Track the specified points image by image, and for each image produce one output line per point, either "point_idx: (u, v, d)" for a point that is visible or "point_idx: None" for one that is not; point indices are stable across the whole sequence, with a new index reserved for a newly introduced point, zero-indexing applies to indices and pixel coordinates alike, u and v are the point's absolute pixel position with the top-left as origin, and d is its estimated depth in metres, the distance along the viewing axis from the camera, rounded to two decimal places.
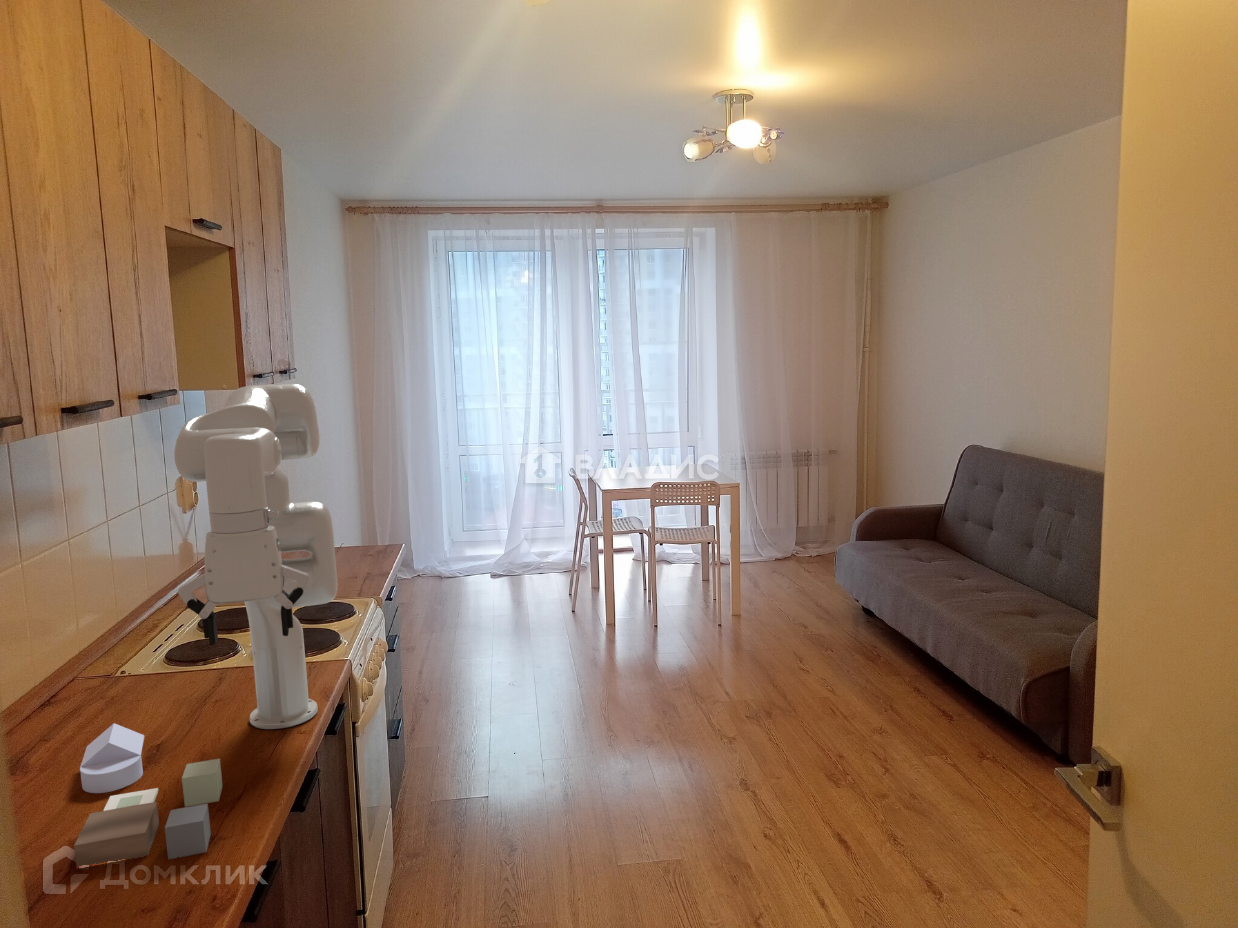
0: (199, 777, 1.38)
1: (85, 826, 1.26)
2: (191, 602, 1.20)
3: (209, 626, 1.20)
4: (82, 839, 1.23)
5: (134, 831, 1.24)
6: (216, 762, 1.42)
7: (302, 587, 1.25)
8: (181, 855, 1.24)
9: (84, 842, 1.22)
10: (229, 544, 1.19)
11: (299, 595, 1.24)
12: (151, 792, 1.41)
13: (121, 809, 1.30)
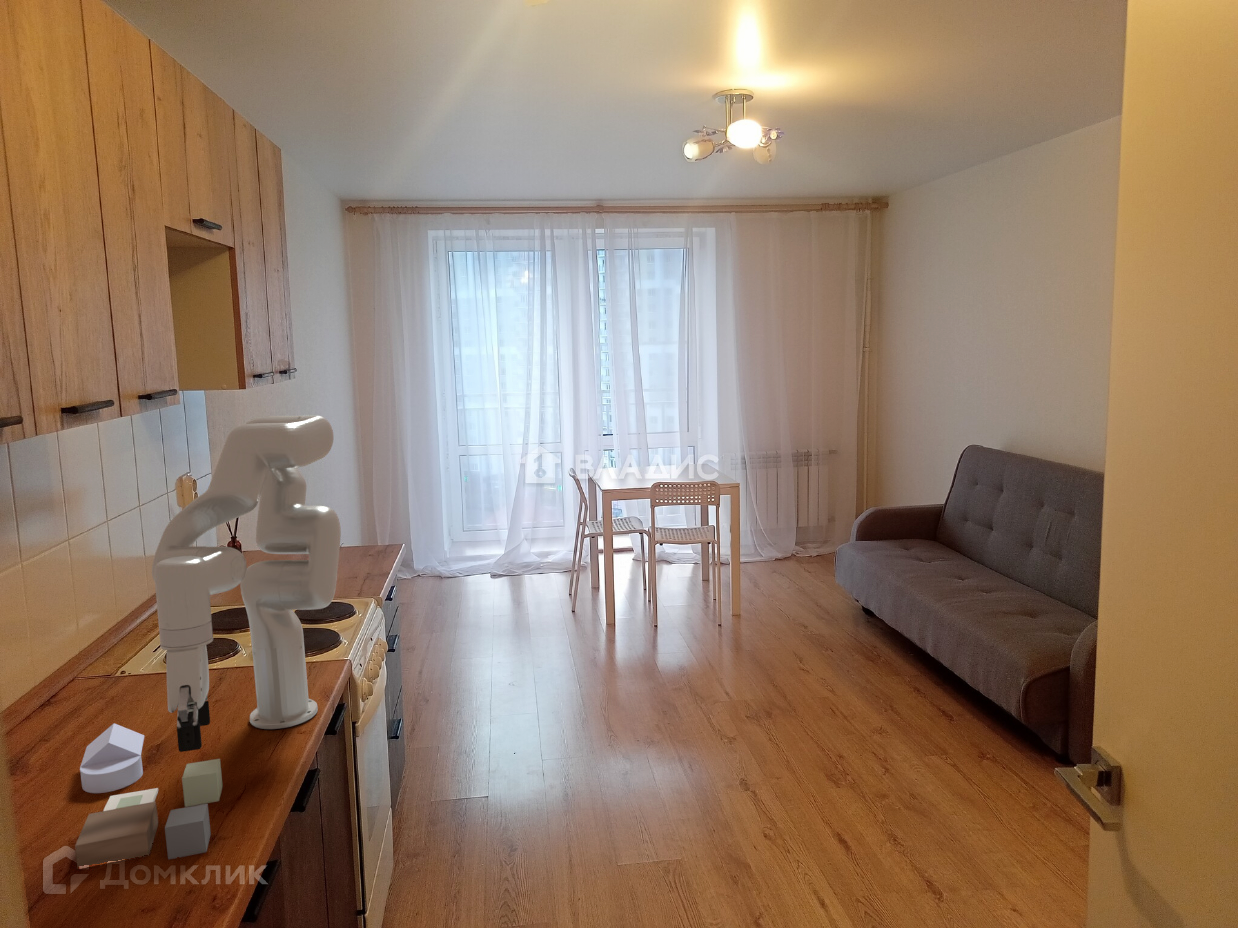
0: (199, 776, 1.38)
1: (85, 827, 1.26)
2: (190, 714, 1.31)
3: (200, 730, 1.34)
4: (83, 839, 1.22)
5: (135, 830, 1.24)
6: (216, 762, 1.42)
7: None
8: (181, 855, 1.24)
9: (84, 842, 1.22)
10: (203, 650, 1.36)
11: None
12: (151, 792, 1.41)
13: (120, 809, 1.30)
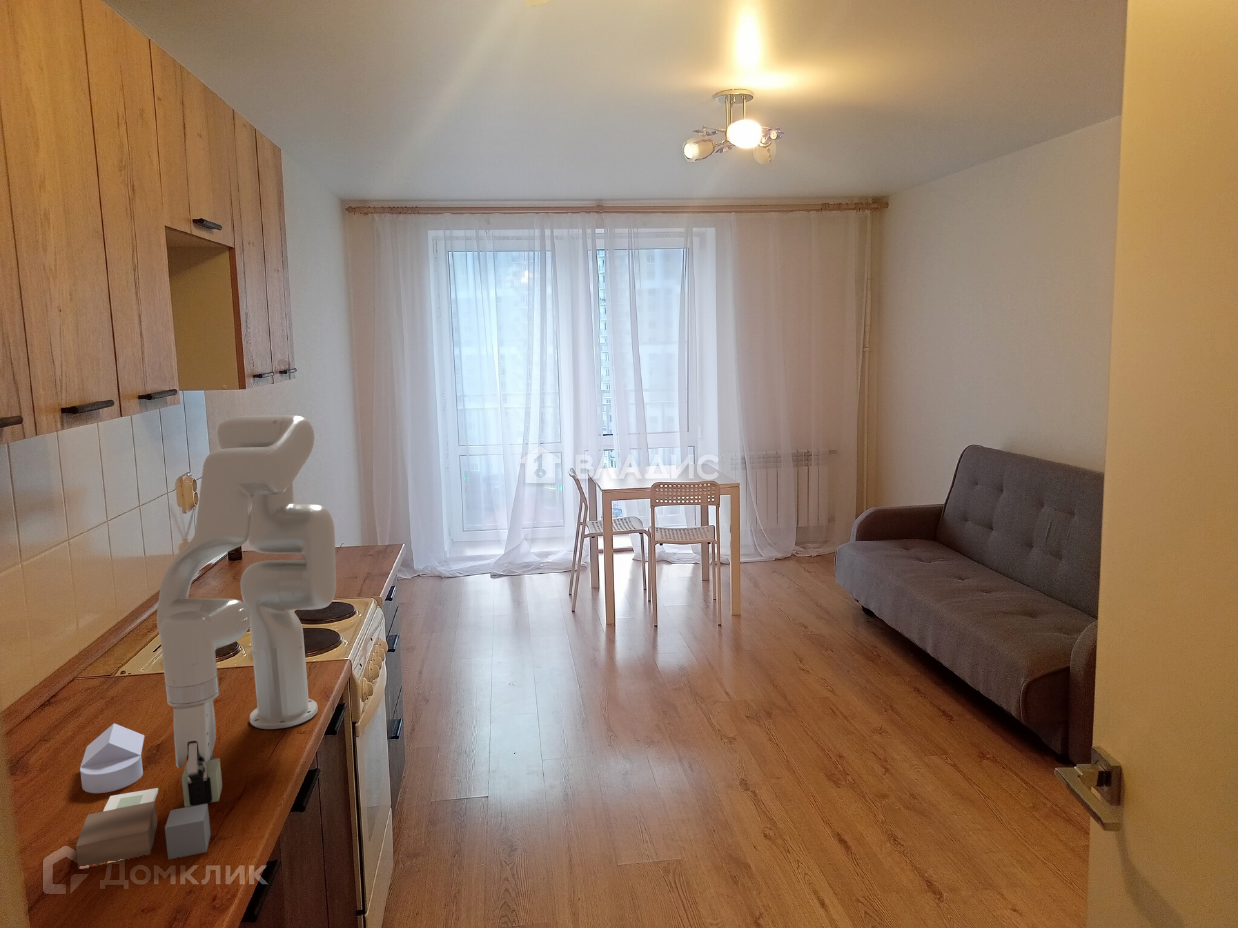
0: None
1: (84, 827, 1.26)
2: (201, 771, 1.35)
3: (210, 784, 1.38)
4: (83, 840, 1.22)
5: (136, 830, 1.25)
6: (216, 762, 1.42)
7: None
8: (181, 855, 1.24)
9: (85, 842, 1.22)
10: (210, 705, 1.38)
11: None
12: (151, 792, 1.41)
13: (119, 809, 1.30)
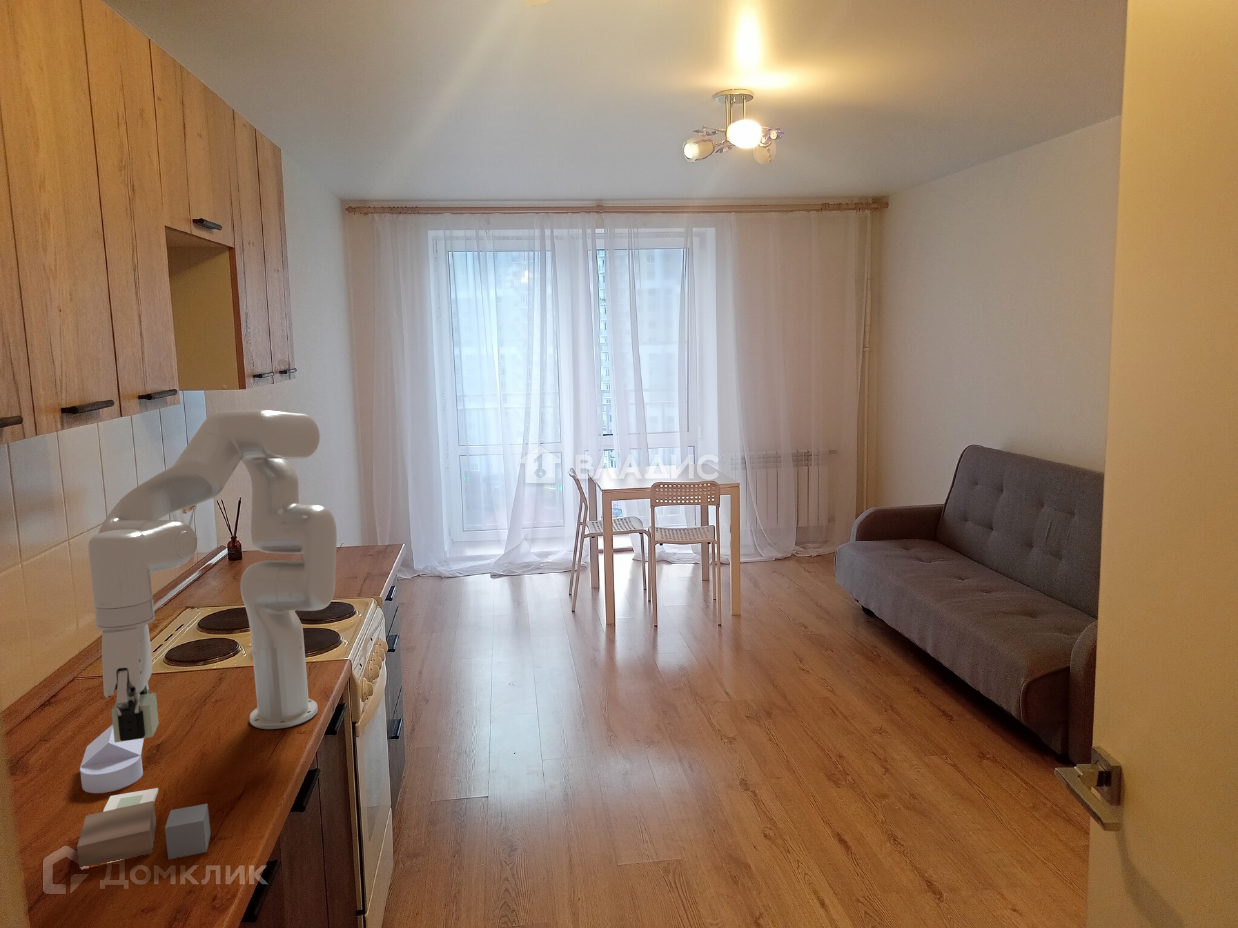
0: None
1: (84, 828, 1.26)
2: (132, 701, 1.24)
3: (143, 718, 1.26)
4: (84, 840, 1.22)
5: (137, 829, 1.25)
6: (151, 696, 1.30)
7: None
8: (181, 855, 1.24)
9: (86, 843, 1.22)
10: (143, 631, 1.27)
11: None
12: (151, 792, 1.41)
13: (118, 810, 1.30)
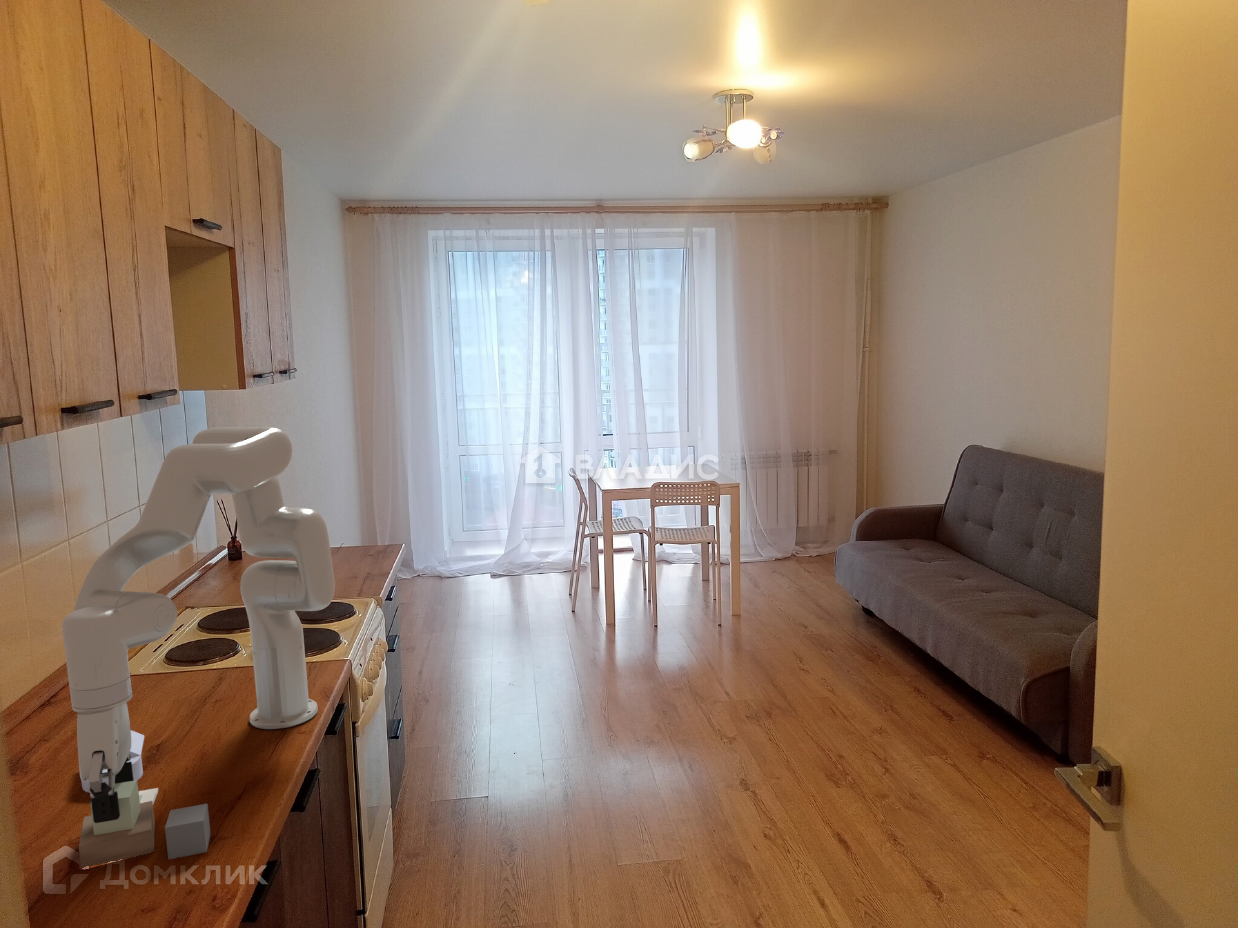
0: None
1: (83, 829, 1.25)
2: (105, 784, 1.19)
3: (117, 799, 1.22)
4: (85, 841, 1.22)
5: (139, 829, 1.25)
6: (132, 785, 1.28)
7: None
8: (181, 855, 1.24)
9: (88, 843, 1.22)
10: (120, 710, 1.24)
11: None
12: (151, 792, 1.41)
13: None
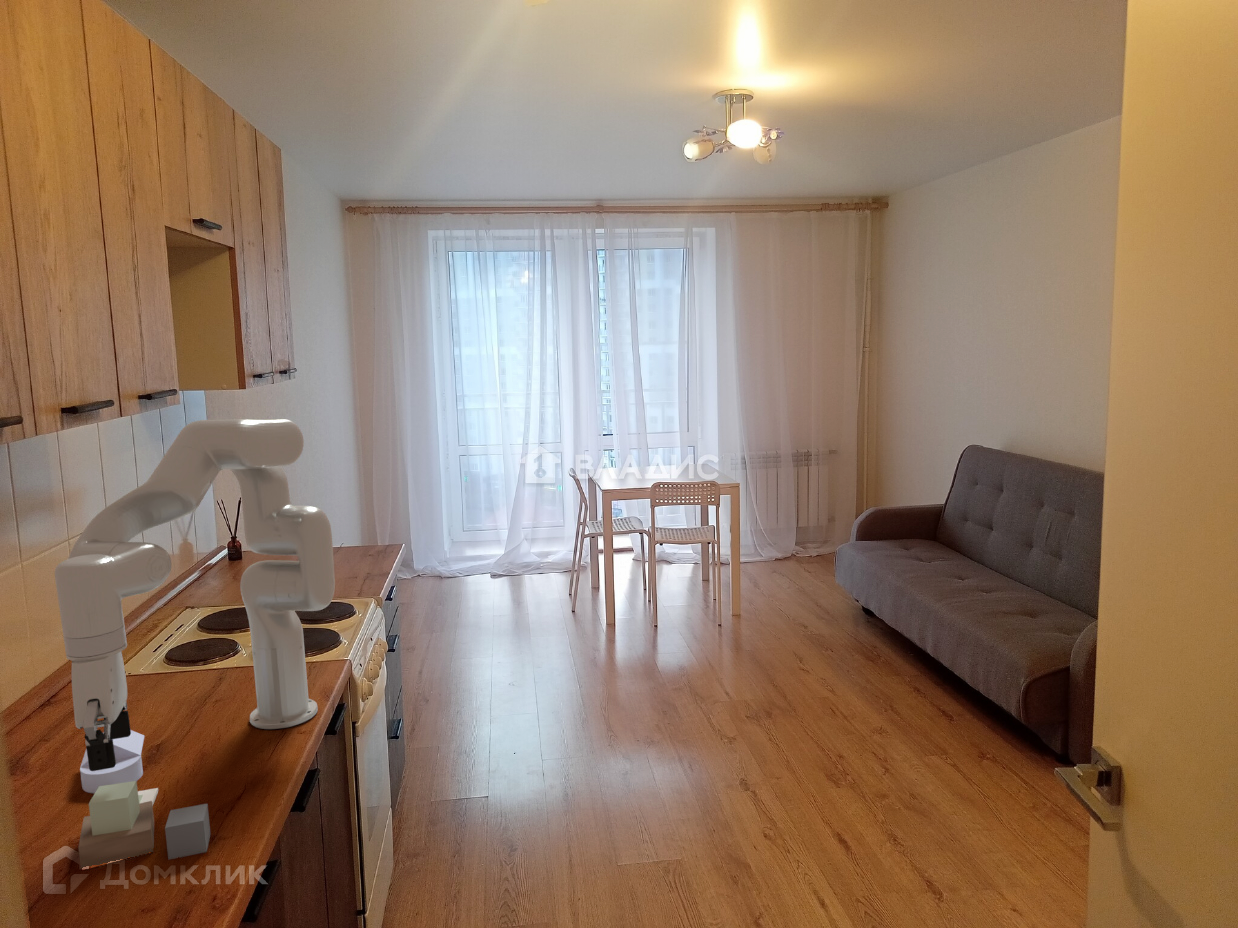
0: (108, 802, 1.24)
1: (83, 829, 1.25)
2: (100, 731, 1.18)
3: (113, 747, 1.21)
4: (85, 841, 1.22)
5: (139, 829, 1.25)
6: (131, 785, 1.28)
7: None
8: (181, 855, 1.24)
9: (88, 843, 1.22)
10: (115, 659, 1.23)
11: None
12: (151, 792, 1.41)
13: None
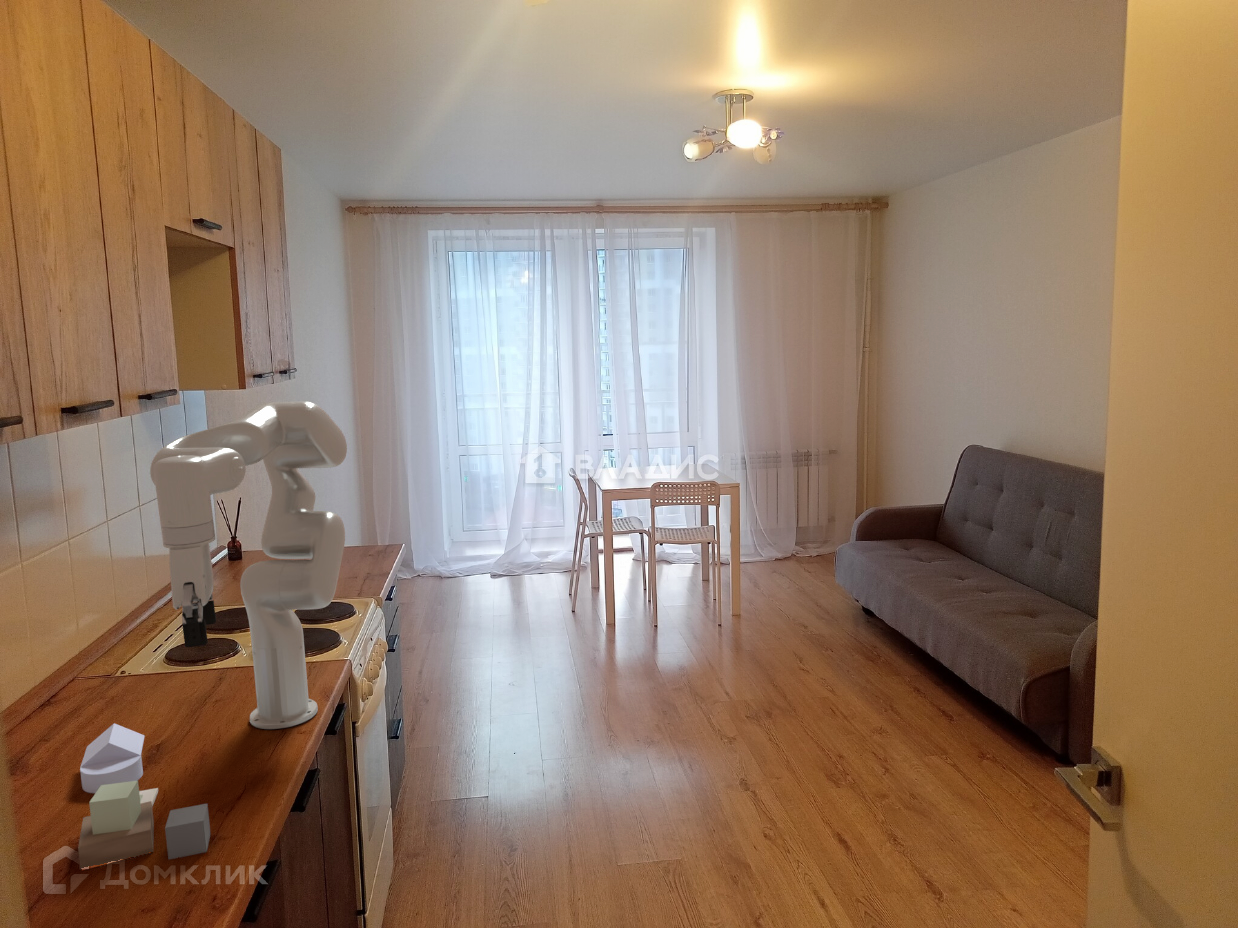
0: (109, 801, 1.24)
1: (83, 829, 1.25)
2: (195, 610, 1.32)
3: (205, 627, 1.35)
4: (84, 841, 1.22)
5: (138, 829, 1.25)
6: (132, 785, 1.28)
7: None
8: (181, 855, 1.24)
9: (87, 844, 1.22)
10: (206, 549, 1.37)
11: None
12: (151, 792, 1.41)
13: None
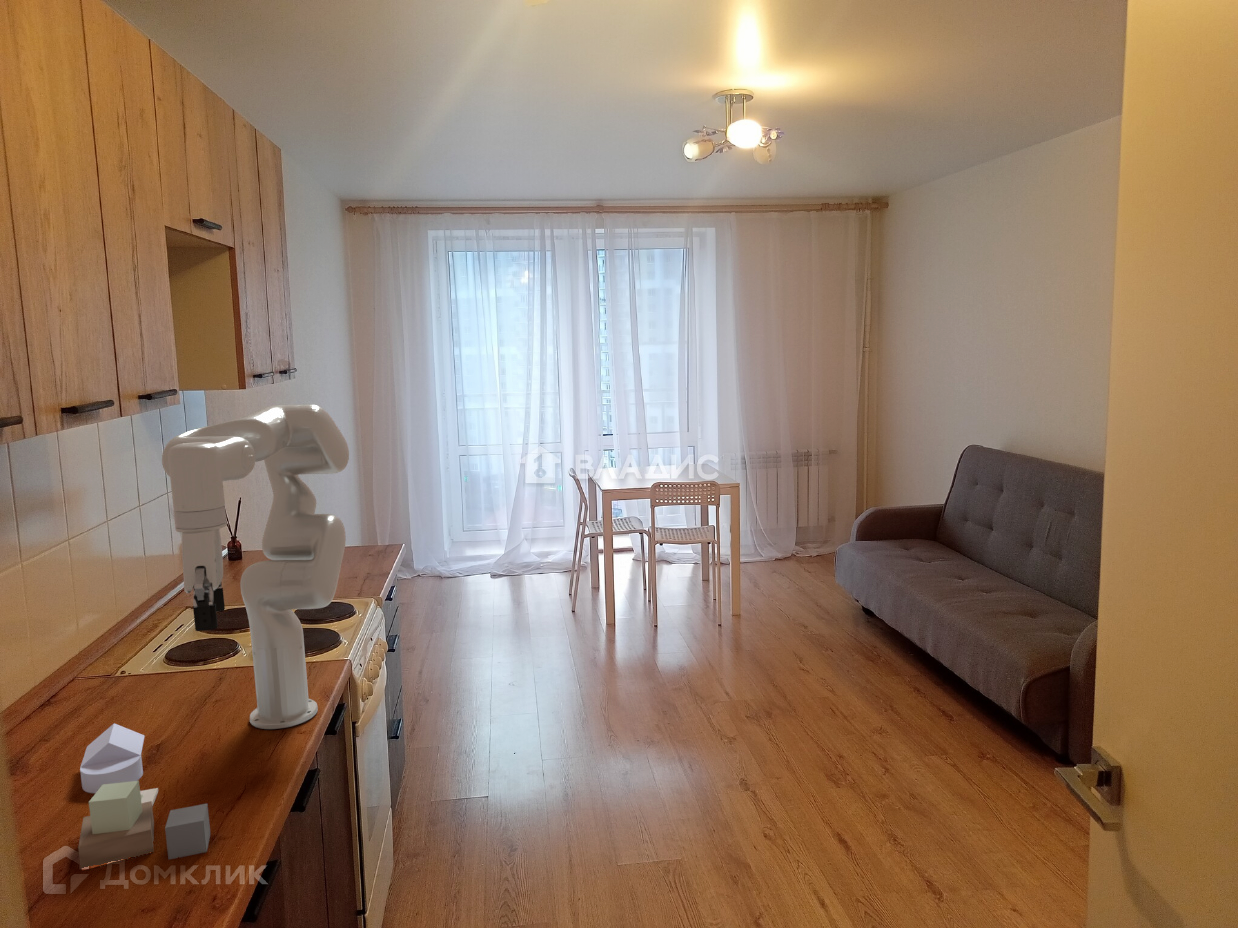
0: (108, 801, 1.24)
1: (83, 829, 1.25)
2: (206, 594, 1.34)
3: (216, 611, 1.37)
4: (85, 841, 1.22)
5: (139, 829, 1.25)
6: (133, 785, 1.28)
7: None
8: (181, 855, 1.24)
9: (88, 843, 1.21)
10: (217, 534, 1.39)
11: None
12: (151, 792, 1.41)
13: None
